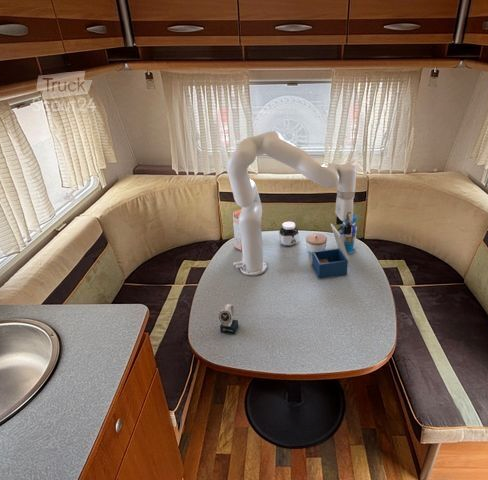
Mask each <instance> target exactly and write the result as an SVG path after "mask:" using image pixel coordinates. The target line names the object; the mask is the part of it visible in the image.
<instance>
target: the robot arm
mask: <svg viewBox="0 0 488 480" xmlns="http://www.w3.org/2000/svg"><path fill="white" fill-rule="evenodd" d="M263 155H266V156H268V157H269V158H271V159H273V160H275V161H278V162H280V163H282V164H284V165H286V166H288V167H290V168H292V169H294V170H295V171H296V172H298V173H299V174H301V176H304V177H305V178H307V179H308V180H310V181H311V182H313V183H314V184H317V185H319V186H321V187H323V188H327V189H332V188H335V187H336V199H335V209H334V213H335V215H336V218H335V219H336V220H335V223H336V224H335V225H337V226H338V225H342V224H343V221H344V222H345V226H344V234H351V228H352V224H353V214H354V199H355V195H356V183H357V171H358V169H357V167H356V165H354V164H351V163H343V164H339V163H333V162H326V163H323V164H321V163H319V162H317V161H316V160H315V159H314V158H312V157H311V156H310V154H309V153H308V152H307V151H306V150H305V149H303V148H301V147H299V146H298V145H295V144H293V143H291V142H290V141H287V140H285V139H284V137H283V135H282V134H281V133H280V132H278V131H274V130H273V131H272V130H271V131H267V132H264V133H260V134H257V135H253V136H250V137H247V138H244V139H242V140H241V141H240V142H239V144H238V145H237V147H236V149H235V150H234V151H232V153H231V154H230V155H229V156H228V158H227V161H226V172H227V176H228V180H229V184H230V187H231V191H232V195H233V199H234V202H235V203H236V205H237V206H239V207H240V208H241V209H242V210H241V213H240V217H239V227H240V233H241V242H242V251H241V252H242V253H241V254H242V258H241V260H240V261H235V262H234V261H233V263H232V264H233V267H236V269H240V272H241V273H242V274H243V275H246V276H258V275H261V274H263V273H265V272H266V270H267V263H266V262H265V261H264V253H263V251H264V250H263V237H262V236H263V234H262V218H263V217H262V216H263V206H262V200H261V198H260V193H259V189H258V186H257V184H256V182H255V181H253V180H252V179H251V177H250V174H249V171H248V168H249V167H250V166H251V165H252V164H253V163H254V162H255V160H256V158H257V157H259V156H263ZM346 218H349V219H346ZM347 221H349V222H348V223H347Z"/></svg>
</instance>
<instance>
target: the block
mask: <svg viewBox="0 0 488 480" xmlns="http://www.w3.org/2000/svg"><path fill="white" fill-rule="evenodd" d="M319 261H320V263H321V264H322V263H329V262H328V260H327V259H320V260H319Z"/></svg>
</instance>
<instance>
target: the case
mask: <svg viewBox="0 0 488 480" xmlns="http://www.w3.org/2000/svg"><path fill="white" fill-rule="evenodd" d="M320 259H327V260H328V262H329V263H322V264H321V263H320V261H319V260H320ZM348 264H349V260H347V259H346V258H345V256H344V255H343V253H342V252H341V251H340V249H339V248H338V247H337V248H330V249H324V250H322V251H315V252H312V253H311V267H312V268H313V270H314V272H315V274H316V276H317V278H318V279H319V280H321V279H328V278H336V277H340V276H347V275H348Z"/></svg>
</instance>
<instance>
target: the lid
mask: <svg viewBox="0 0 488 480" xmlns="http://www.w3.org/2000/svg"><path fill="white" fill-rule="evenodd" d="M330 228H331V230H332V233H333V236H334V239H335V243H336V245H337V249H338V248H339V249H340V251H341V252H342V253H343V255H344V256H345V258H346V259H347V260H348V261H349V260H350V258H349V256H348V255H349V254H347V252H346V249H345V246H344V243H343V240H342V237H341V235H342V234H344V227H343V226H341V225H340V226H339V227H338V228H336V227H335V225H334V224H333V223H330ZM340 230H342V231H343V232H341V233H340Z"/></svg>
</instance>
